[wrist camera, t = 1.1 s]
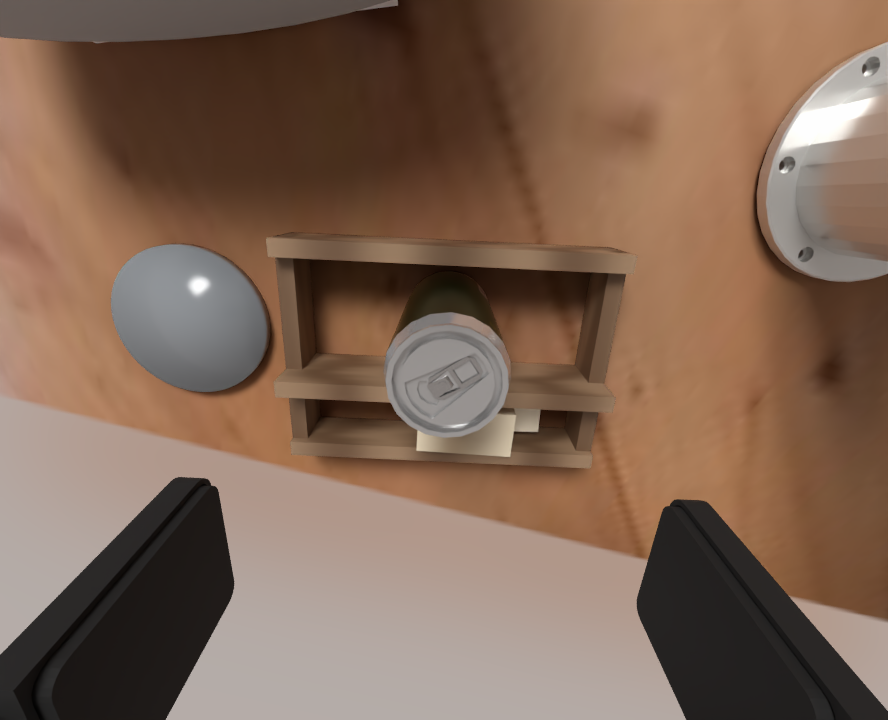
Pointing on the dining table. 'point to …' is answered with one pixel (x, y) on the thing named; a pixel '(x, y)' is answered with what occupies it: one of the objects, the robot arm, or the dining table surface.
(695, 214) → the dining table surface
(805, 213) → the robot arm
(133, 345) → the grey glossy dome
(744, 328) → the dining table surface
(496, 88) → the dining table surface
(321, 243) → the rack
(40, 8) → the alarm clock
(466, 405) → the beer can
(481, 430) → the top offcut
